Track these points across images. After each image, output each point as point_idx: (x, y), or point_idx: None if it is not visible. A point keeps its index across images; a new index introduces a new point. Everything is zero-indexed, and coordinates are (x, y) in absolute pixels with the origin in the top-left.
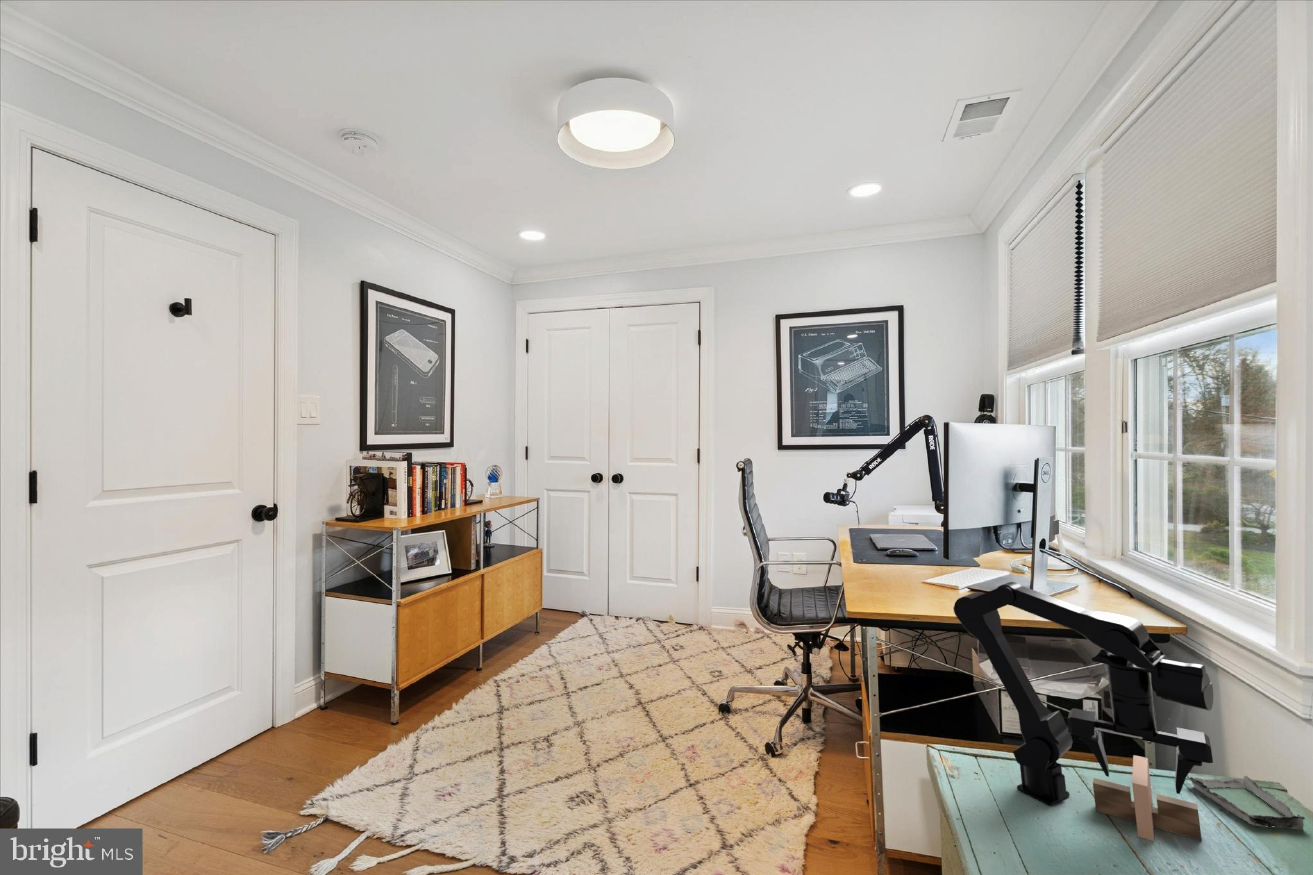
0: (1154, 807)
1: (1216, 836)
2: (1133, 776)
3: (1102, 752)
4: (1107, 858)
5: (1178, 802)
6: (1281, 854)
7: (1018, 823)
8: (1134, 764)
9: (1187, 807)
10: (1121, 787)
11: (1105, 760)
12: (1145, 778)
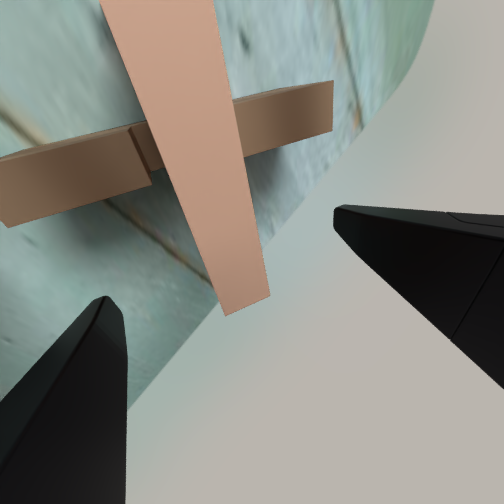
0: None
1: (305, 67)
2: (210, 268)
3: (108, 495)
4: (184, 324)
5: (287, 123)
6: (399, 46)
7: (11, 382)
8: (149, 98)
9: (308, 135)
10: (108, 166)
11: (109, 400)
12: (252, 243)
